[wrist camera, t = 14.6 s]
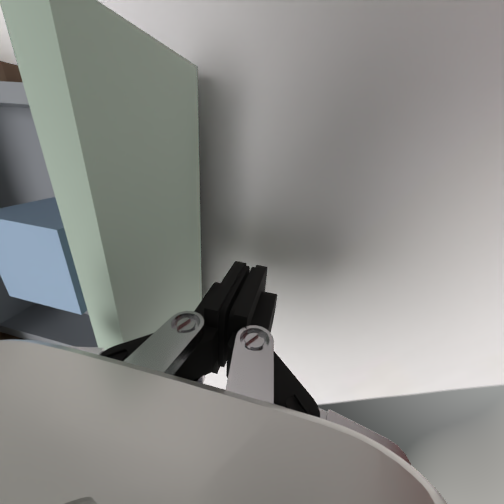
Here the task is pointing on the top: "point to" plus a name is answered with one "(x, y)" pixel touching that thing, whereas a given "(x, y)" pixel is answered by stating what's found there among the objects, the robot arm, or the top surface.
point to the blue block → (38, 256)
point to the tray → (103, 168)
